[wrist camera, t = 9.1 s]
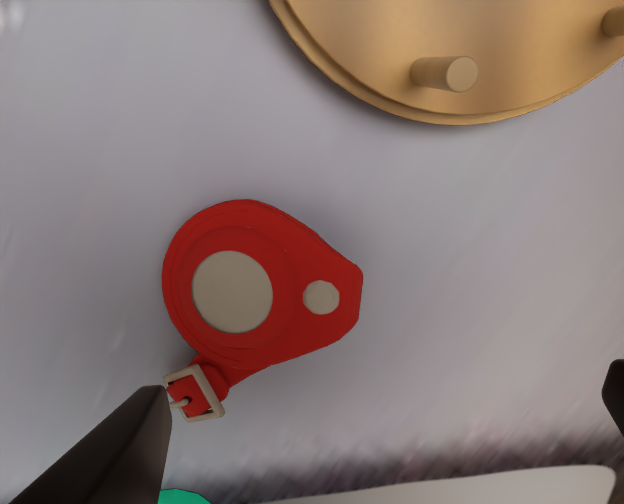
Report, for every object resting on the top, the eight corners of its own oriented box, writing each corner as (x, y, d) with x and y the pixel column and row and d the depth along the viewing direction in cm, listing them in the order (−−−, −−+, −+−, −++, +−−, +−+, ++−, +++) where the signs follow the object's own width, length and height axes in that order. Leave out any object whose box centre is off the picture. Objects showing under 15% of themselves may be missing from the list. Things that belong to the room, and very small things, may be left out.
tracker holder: (140, 192, 19) (367, 213, 17) (187, 189, 23) (371, 206, 21) (139, 439, 21) (340, 478, 19) (182, 394, 25) (349, 423, 23)
